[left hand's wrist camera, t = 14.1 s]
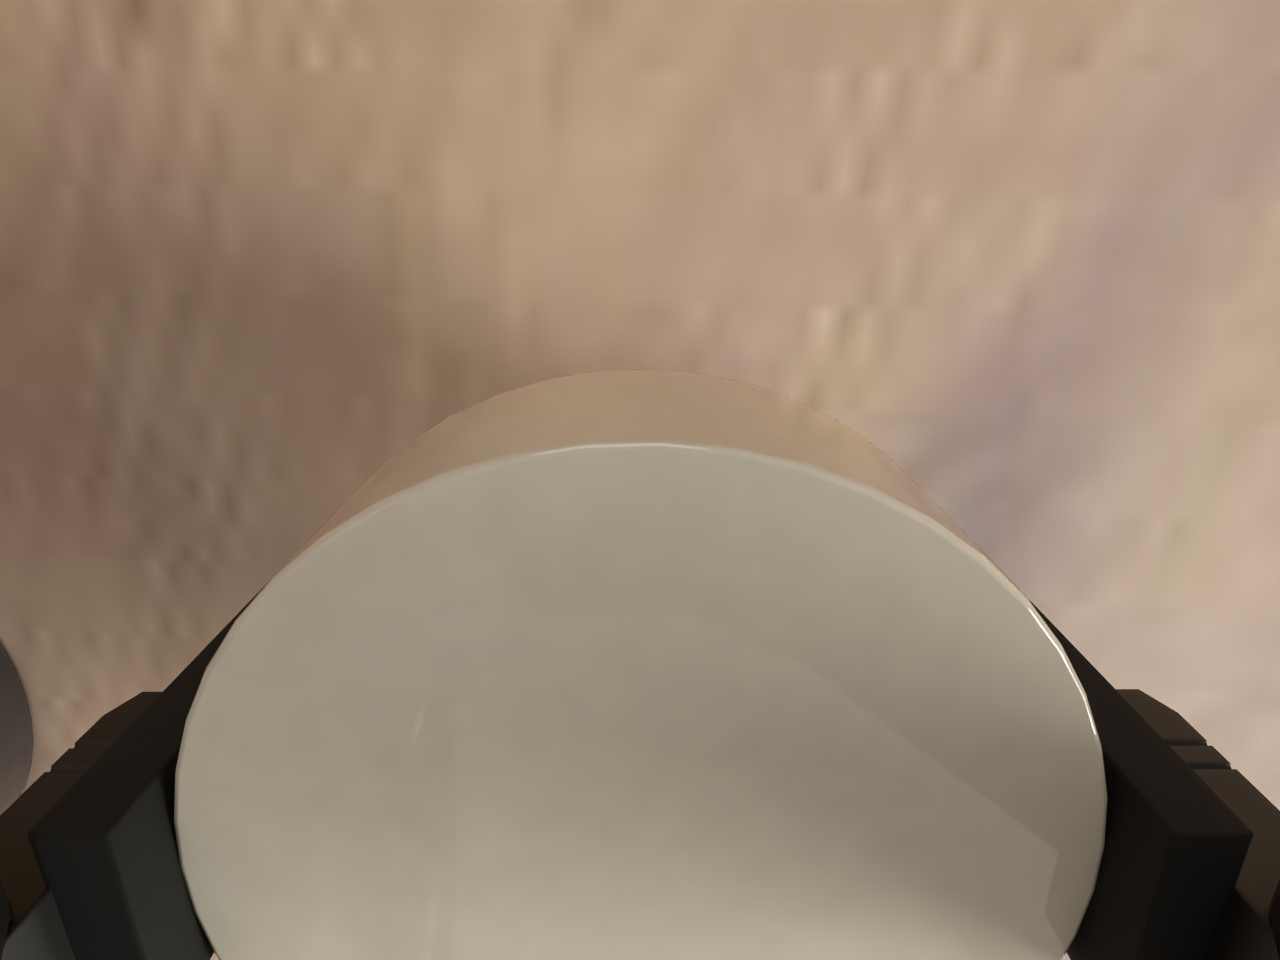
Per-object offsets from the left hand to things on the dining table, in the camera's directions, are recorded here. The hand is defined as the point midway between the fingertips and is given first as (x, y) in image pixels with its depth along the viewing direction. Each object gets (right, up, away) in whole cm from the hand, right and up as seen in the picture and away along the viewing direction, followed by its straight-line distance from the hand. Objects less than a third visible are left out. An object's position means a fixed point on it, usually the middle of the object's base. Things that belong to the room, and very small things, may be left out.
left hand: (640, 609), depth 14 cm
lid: (0, -1, -3) cm, 3 cm away
